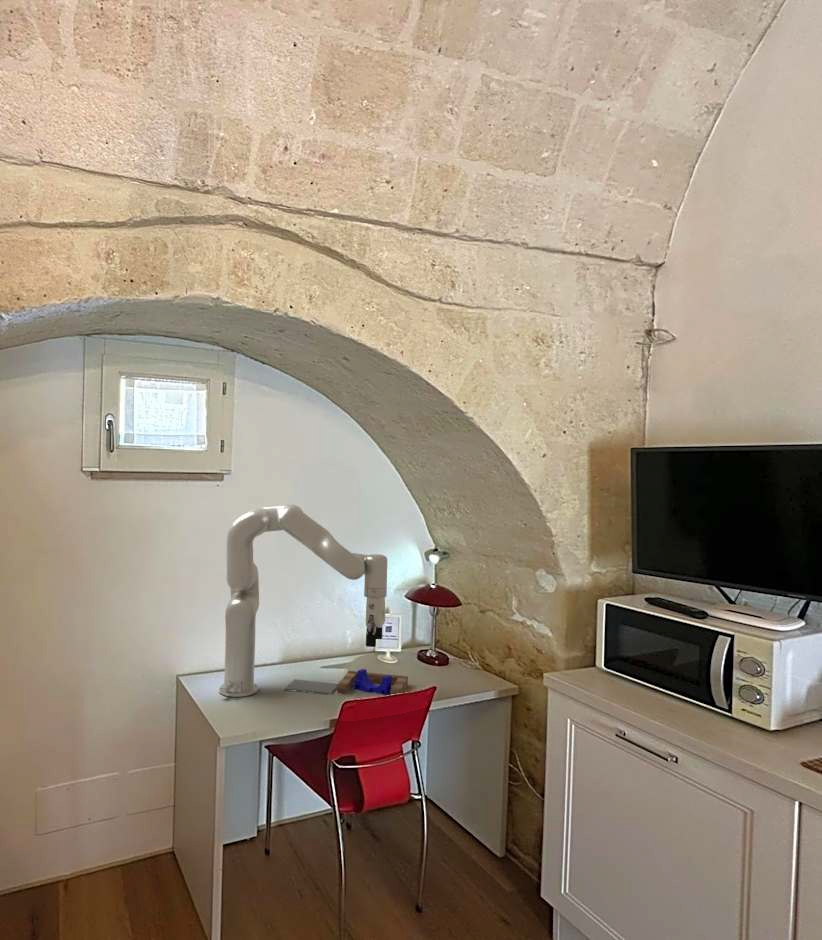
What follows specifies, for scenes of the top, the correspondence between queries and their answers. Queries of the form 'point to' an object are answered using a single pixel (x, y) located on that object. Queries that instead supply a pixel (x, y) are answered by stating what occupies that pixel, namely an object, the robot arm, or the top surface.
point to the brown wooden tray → (351, 676)
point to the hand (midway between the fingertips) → (374, 642)
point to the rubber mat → (312, 686)
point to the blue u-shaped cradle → (368, 686)
